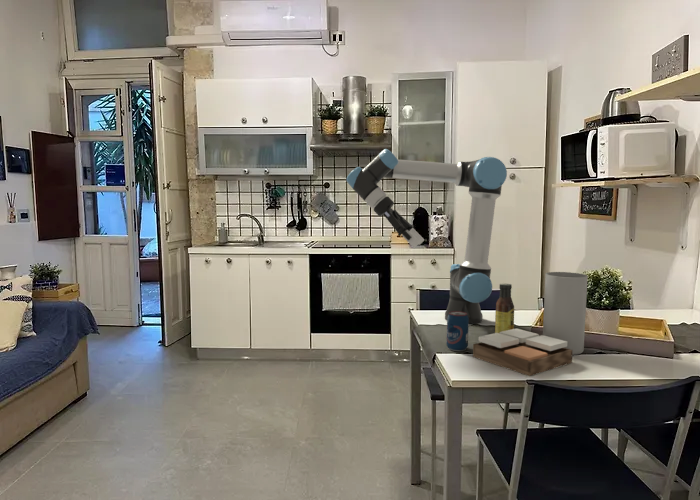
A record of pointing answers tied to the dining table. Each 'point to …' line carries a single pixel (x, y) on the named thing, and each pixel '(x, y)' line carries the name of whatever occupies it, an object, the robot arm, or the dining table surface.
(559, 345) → the key
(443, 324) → the dining table surface
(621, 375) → the dining table surface
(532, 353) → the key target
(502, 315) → the sauce bottle
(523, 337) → the key
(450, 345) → the soda can
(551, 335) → the cylinder vase
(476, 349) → the keypad
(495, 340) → the key
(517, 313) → the dining table surface
